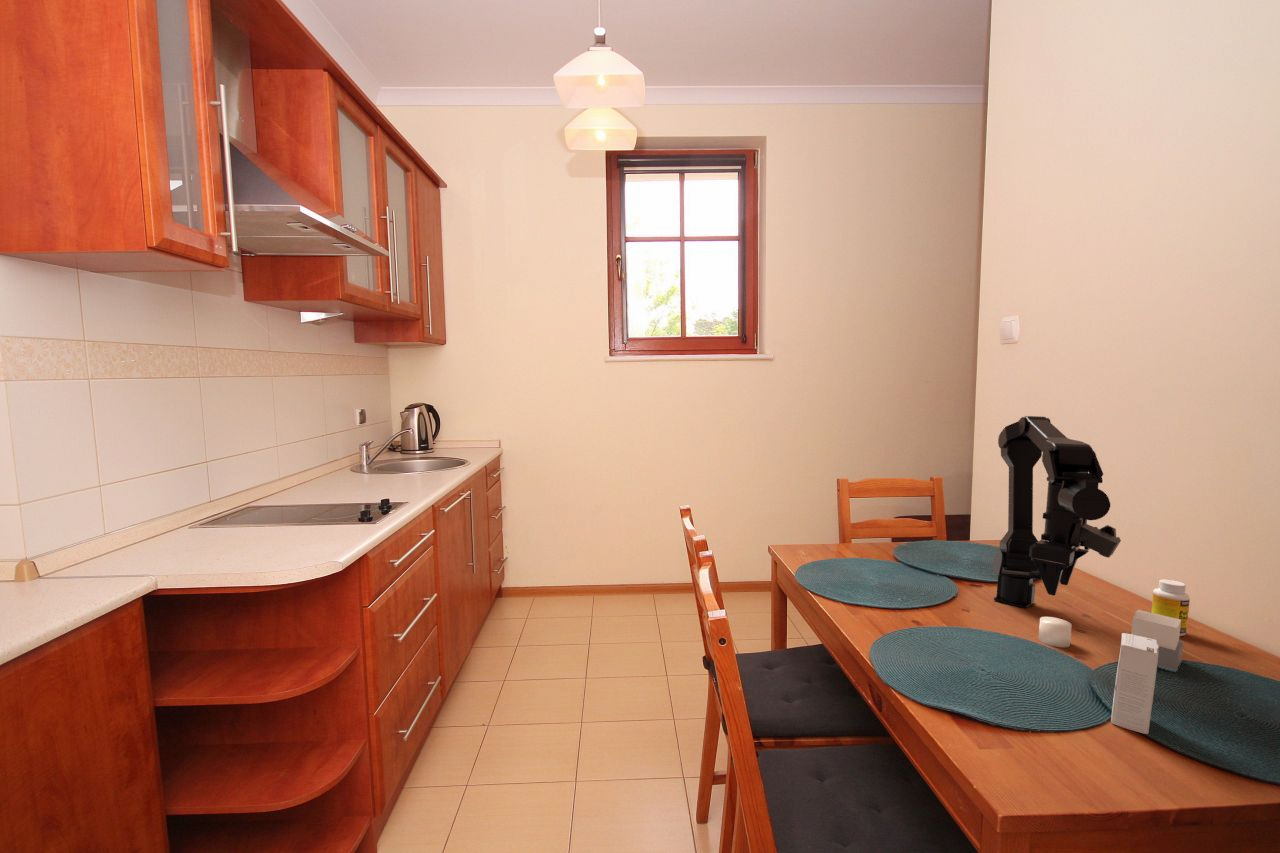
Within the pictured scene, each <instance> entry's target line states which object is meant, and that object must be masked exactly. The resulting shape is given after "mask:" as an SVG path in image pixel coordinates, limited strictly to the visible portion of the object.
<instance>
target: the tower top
mask: <svg viewBox="0 0 1280 853" xmlns="http://www.w3.org/2000/svg"><path fill="white" fill-rule="evenodd" d="M1180 625H1181V620H1180V619H1176V618H1172V617H1167V616H1163V615H1159V614H1154V613H1151V612H1150V611H1145V610H1141V609H1137V610H1136V612H1135V613H1134V615H1133V616H1132V621H1131V632H1130V633H1131V634H1132V635H1137V636H1141V637H1146V638H1151V639H1155V640H1157V641H1158V646H1159V647H1163V648H1167V649H1171V650H1175V649H1176V647H1177V645H1178V642H1179V641H1180V636H1179V635H1180Z"/></svg>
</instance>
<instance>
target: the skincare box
mask: <svg viewBox="0 0 1280 853" xmlns="http://www.w3.org/2000/svg"><path fill="white" fill-rule="evenodd" d="M1158 648H1159V646H1158V641H1157V640H1155V639H1151V638H1146V637H1141V636H1137V635H1132V634H1130V633H1125V632H1122V633H1121V640H1120V651H1119V657H1118V662H1117V663H1118V664H1117V669H1116V676H1115V681H1114V682H1115V683H1114V690H1113V701H1112V708H1111V717H1110V722H1111V724H1113V725H1115V726H1118V727H1121V728H1124V729H1127V730H1130V731H1133V732H1137V733H1141V734H1144V735H1149V731H1150V725H1151V715H1152V707H1153V701H1154V694H1155V686H1156V679H1157V678H1156V677H1157V670H1158V668H1157V663H1158Z"/></svg>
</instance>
